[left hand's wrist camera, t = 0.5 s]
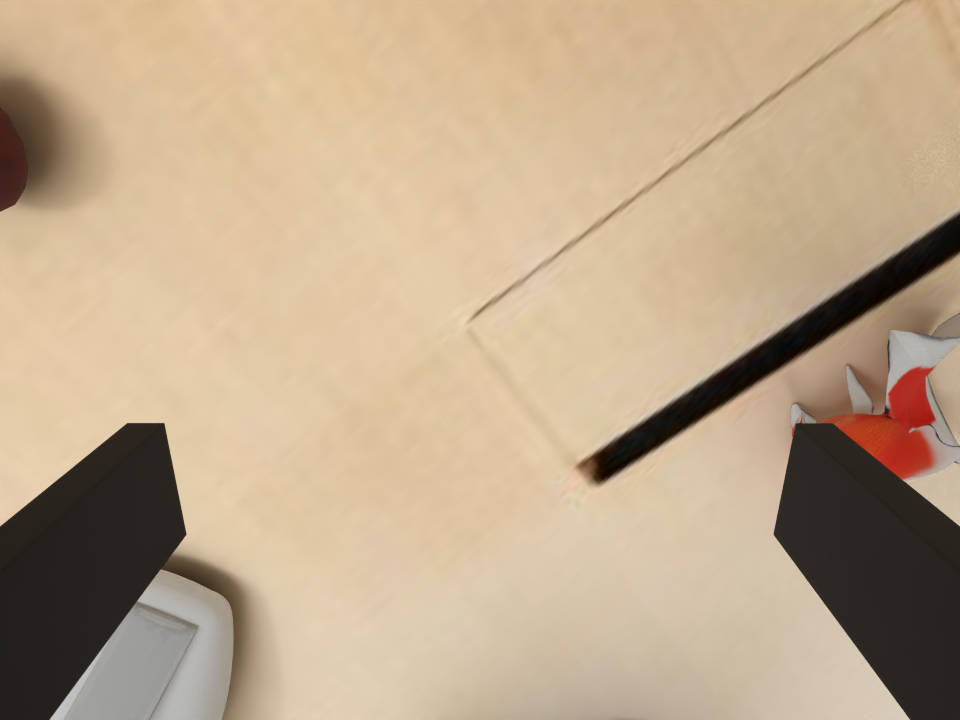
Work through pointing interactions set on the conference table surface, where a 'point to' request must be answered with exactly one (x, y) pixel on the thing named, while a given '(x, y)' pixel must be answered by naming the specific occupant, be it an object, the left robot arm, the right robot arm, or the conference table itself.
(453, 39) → the conference table surface
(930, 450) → the fish
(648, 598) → the conference table surface
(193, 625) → the projector
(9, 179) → the dark red ball
